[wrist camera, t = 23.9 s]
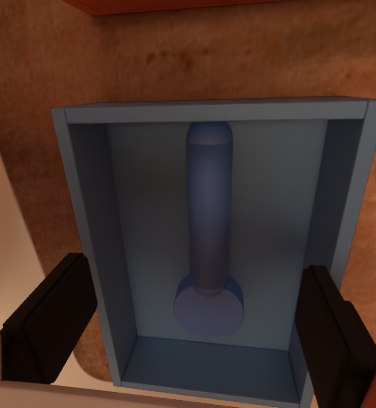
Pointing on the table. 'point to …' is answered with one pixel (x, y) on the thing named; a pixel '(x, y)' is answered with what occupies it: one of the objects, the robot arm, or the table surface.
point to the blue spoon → (209, 235)
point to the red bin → (149, 5)
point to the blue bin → (238, 232)
